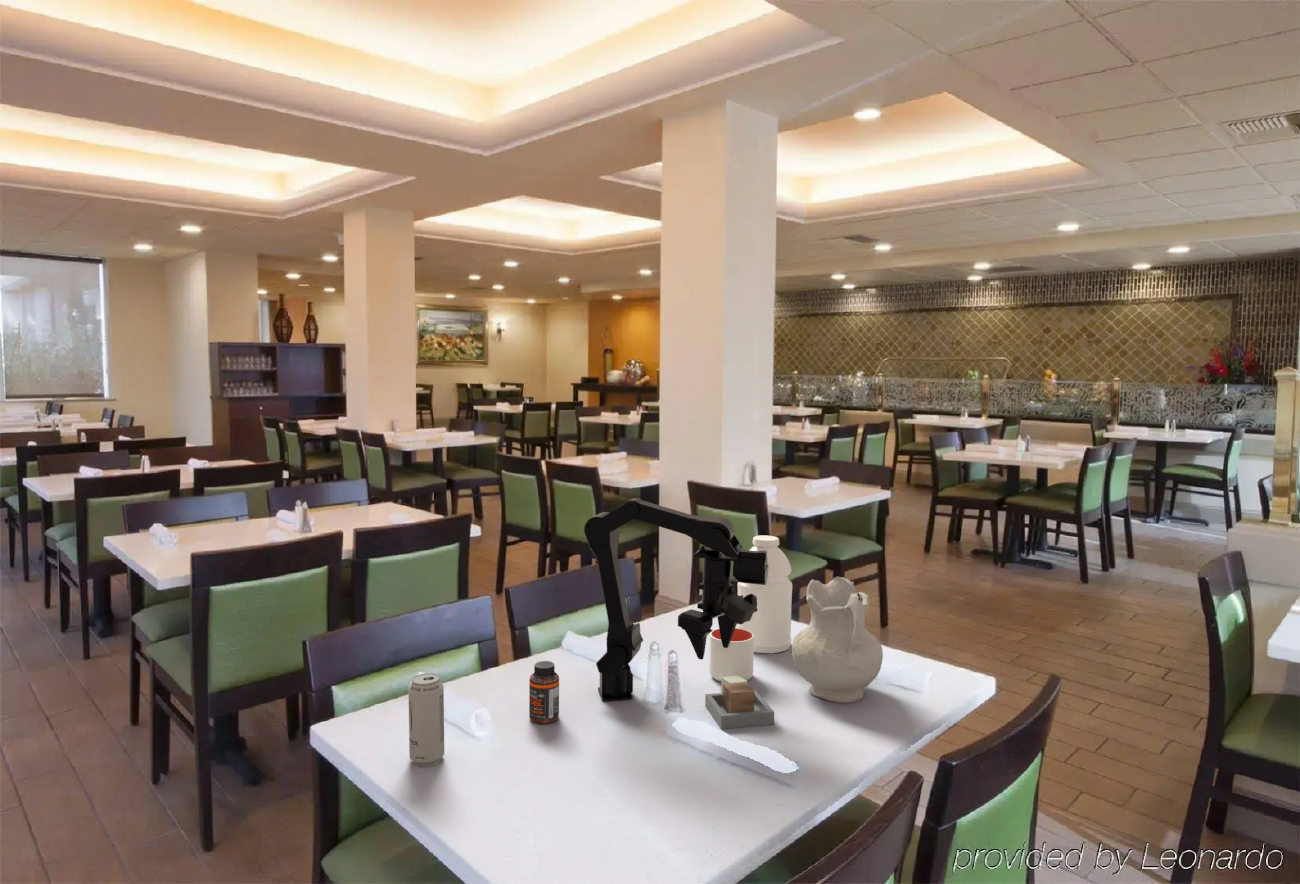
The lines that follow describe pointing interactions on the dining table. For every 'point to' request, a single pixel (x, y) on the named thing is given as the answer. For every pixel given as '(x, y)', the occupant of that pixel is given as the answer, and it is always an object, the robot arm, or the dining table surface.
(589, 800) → the dining table surface
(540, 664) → the supplement bottle
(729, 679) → the sage cube
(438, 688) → the energy drink can
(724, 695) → the walnut cube
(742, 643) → the cup
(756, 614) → the bottle
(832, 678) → the ceramic pitcher
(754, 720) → the tray
